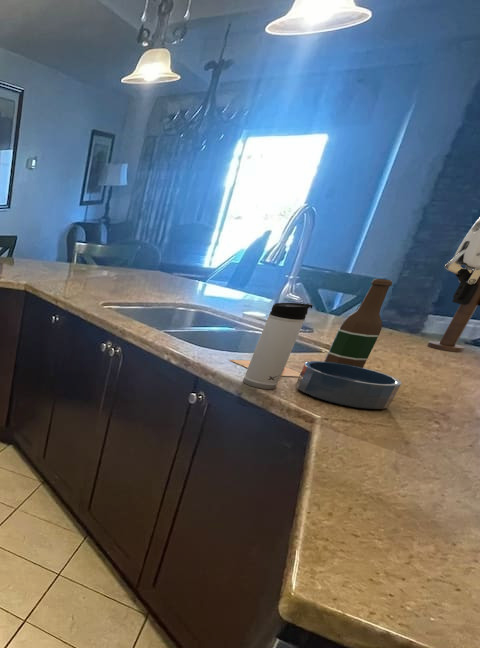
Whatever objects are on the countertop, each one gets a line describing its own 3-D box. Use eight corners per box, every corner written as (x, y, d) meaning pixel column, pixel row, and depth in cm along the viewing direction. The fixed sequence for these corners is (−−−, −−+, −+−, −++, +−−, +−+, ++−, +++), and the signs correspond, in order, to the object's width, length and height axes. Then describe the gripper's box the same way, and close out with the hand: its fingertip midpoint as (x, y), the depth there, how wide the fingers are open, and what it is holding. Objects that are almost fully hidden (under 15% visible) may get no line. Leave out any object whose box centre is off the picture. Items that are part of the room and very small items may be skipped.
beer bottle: (366, 378, 124) (414, 283, 115) (328, 373, 127) (372, 280, 117) (350, 369, 131) (393, 278, 121) (314, 365, 133) (354, 275, 124)
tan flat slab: (263, 375, 123) (270, 359, 122) (228, 360, 135) (234, 345, 133) (310, 377, 124) (317, 361, 122) (271, 361, 135) (277, 346, 133)
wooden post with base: (467, 351, 101) (509, 277, 95) (456, 353, 99) (499, 278, 93) (433, 344, 105) (471, 273, 99) (422, 346, 103) (460, 274, 97)
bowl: (401, 405, 108) (415, 380, 105) (366, 415, 102) (379, 389, 100) (316, 381, 121) (326, 358, 118) (280, 388, 115) (290, 364, 113)
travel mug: (276, 392, 113) (313, 306, 105) (241, 384, 117) (274, 301, 109) (278, 385, 117) (313, 302, 109) (243, 378, 121) (275, 297, 113)
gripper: (480, 204, 90) (429, 303, 98) (604, 208, 85) (540, 312, 92) (451, 204, 97) (405, 296, 104) (565, 207, 91) (508, 305, 99)
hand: (469, 303), depth 98 cm, fingers closed on wooden post with base
